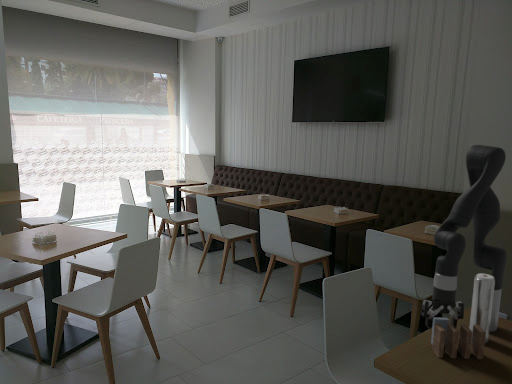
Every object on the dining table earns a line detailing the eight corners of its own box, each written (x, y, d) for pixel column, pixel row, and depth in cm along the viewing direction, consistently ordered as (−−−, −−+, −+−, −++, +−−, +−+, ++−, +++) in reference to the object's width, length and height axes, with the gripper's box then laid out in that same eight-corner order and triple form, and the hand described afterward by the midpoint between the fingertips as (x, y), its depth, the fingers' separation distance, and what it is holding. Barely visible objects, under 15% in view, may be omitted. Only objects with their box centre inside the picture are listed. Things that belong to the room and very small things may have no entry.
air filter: (488, 337, 149) (495, 274, 146) (488, 345, 144) (495, 280, 140) (468, 332, 152) (475, 271, 149) (468, 340, 147) (474, 276, 143)
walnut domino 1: (438, 357, 135) (440, 330, 134) (432, 349, 140) (434, 323, 139) (442, 357, 135) (445, 330, 134) (436, 349, 140) (439, 323, 138)
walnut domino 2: (451, 358, 135) (454, 330, 133) (445, 350, 140) (447, 323, 138) (456, 358, 135) (458, 331, 133) (449, 350, 140) (452, 324, 138)
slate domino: (430, 342, 145) (433, 317, 143) (444, 343, 144) (447, 317, 143) (432, 345, 143) (435, 319, 142) (446, 345, 143) (449, 319, 141)
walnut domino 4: (478, 359, 135) (481, 331, 133) (470, 351, 140) (473, 324, 138) (482, 359, 135) (485, 331, 133) (475, 351, 140) (478, 324, 138)
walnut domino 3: (464, 358, 135) (467, 331, 133) (457, 350, 140) (460, 324, 138) (469, 358, 135) (472, 331, 133) (462, 350, 140) (465, 324, 138)
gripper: (429, 288, 136) (425, 332, 139) (470, 290, 136) (465, 334, 138) (420, 281, 144) (416, 322, 146) (459, 282, 144) (455, 324, 146)
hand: (440, 328), depth 142 cm, fingers open, 8 cm apart
